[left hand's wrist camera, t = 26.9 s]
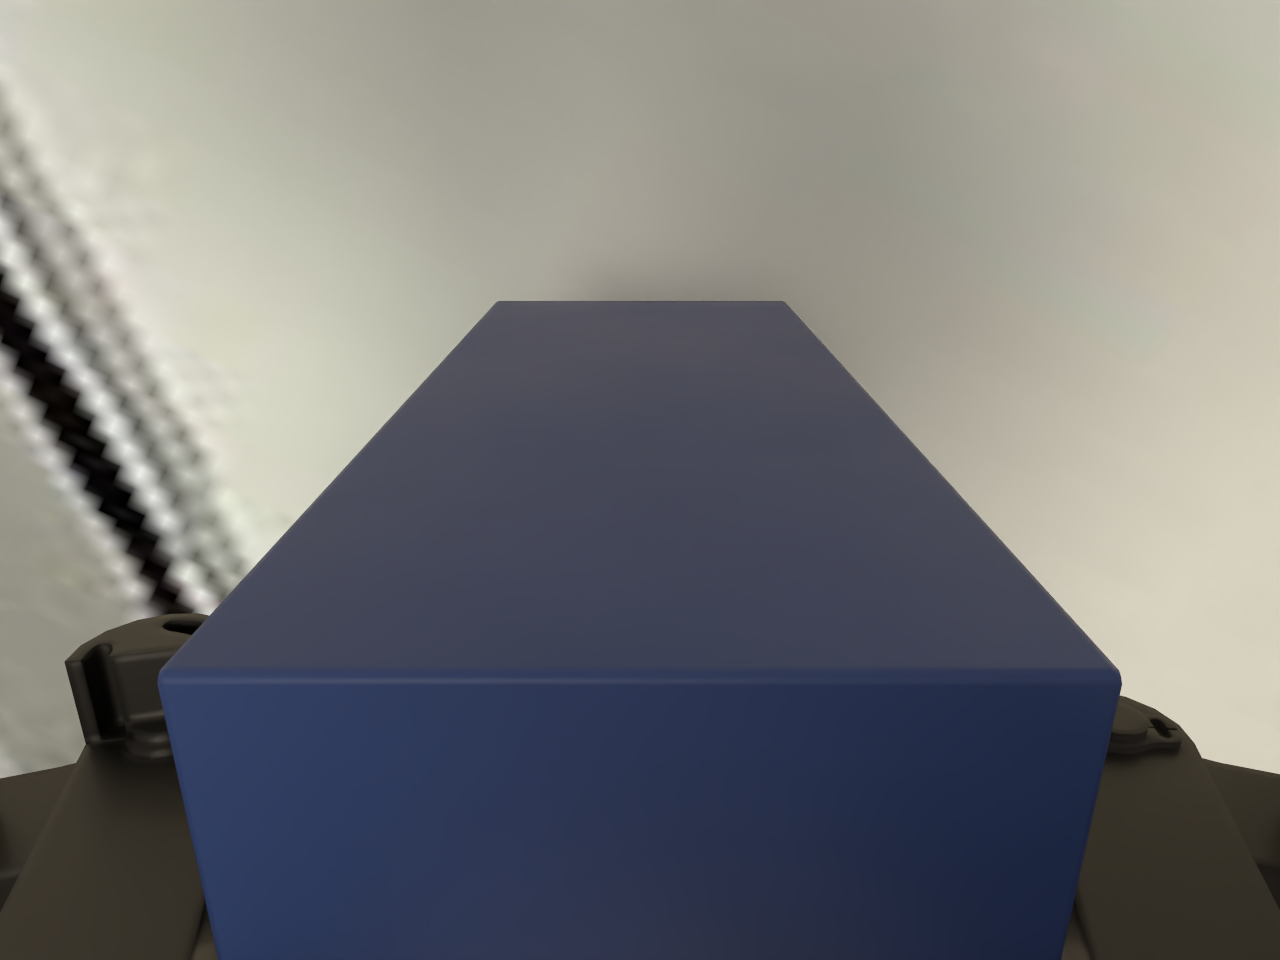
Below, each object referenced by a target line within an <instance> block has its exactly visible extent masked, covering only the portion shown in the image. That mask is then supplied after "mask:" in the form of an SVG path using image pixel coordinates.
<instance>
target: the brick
mask: <svg viewBox="0 0 1280 960" xmlns="http://www.w3.org/2000/svg"><path fill="white" fill-rule="evenodd" d="M157 684H158V689H159V693H160V698H161V702H162V707H163V711H164V716H165V721H166V725H167V730H168V734H169V739H170V743H171V748H172V752H173V757H174V761H175V766H176V770H177V775H178V779H179V784H180V789H181V793H182V798H183V802H184V807H185V811H186V816H187V820H188V825H189V829H190V834H191V838H192V843H193V847H194V852H195V856H196V861H197V866H198V870H199V875H200V879H201V884H202V888H203V893H204V897H205V902H206V906H207V911H208V915H209V920H210V924H211V929H212V934H213V938H214V943H215V947H216V952H217V956H218V960H1061V958H1062V953H1063V949H1064V944H1065V940H1066V935H1067V931H1068V926H1069V922H1070V917H1071V913H1072V908H1073V904H1074V899H1075V895H1076V890H1077V885H1078V881H1079V876H1080V872H1081V867H1082V863H1083V858H1084V854H1085V849H1086V845H1087V840H1088V836H1089V831H1090V827H1091V822H1092V817H1093V813H1094V808H1095V804H1096V799H1097V795H1098V790H1099V786H1100V781H1101V777H1102V772H1103V768H1104V763H1105V759H1106V754H1107V749H1108V745H1109V740H1110V736H1111V731H1112V727H1113V722H1114V718H1115V713H1116V709H1117V704H1118V700H1119V695H1120V691H1121V686H1122V681H1121V676H1120V672H1119V670H1118V669H1117V668H1116V667H1115V666H1114V665H1113V663H1112V662H1111V661H1110V660H1109V659H1108V658H1107V657H1106V656H1105V655H1104V654H1103V652H1102V651H1101V650H1100V649H1099V648H1098V647H1097V646H1096V645H1095V644H1094V643H1093V641H1092V640H1091V639H1090V638H1089V637H1088V636H1087V635H1086V634H1085V633H1084V631H1083V630H1082V629H1081V628H1080V627H1079V626H1078V625H1077V624H1076V623H1075V622H1074V620H1073V619H1072V618H1071V617H1070V616H1069V615H1068V614H1067V613H1066V612H1065V611H1064V609H1063V608H1062V607H1061V606H1060V605H1059V604H1058V603H1057V602H1056V601H1055V600H1054V598H1053V597H1052V596H1051V595H1050V594H1049V593H1048V592H1047V591H1046V590H1045V588H1044V587H1043V586H1042V585H1041V584H1040V583H1039V582H1038V581H1037V580H1036V579H1035V577H1034V576H1033V575H1032V574H1031V573H1030V572H1029V571H1028V570H1027V569H1026V568H1025V566H1024V565H1023V564H1022V563H1021V562H1020V561H1019V560H1018V559H1017V558H1016V557H1015V555H1014V554H1013V553H1012V552H1011V551H1010V550H1009V549H1008V548H1007V547H1006V545H1005V544H1004V543H1003V542H1002V541H1001V540H1000V539H999V538H998V537H997V536H996V534H995V533H994V532H993V531H992V530H991V529H990V528H989V527H988V526H987V525H986V523H985V522H984V521H983V520H982V519H981V518H980V517H979V516H978V515H977V514H976V512H975V511H974V510H973V509H972V508H971V507H970V506H969V505H968V504H967V502H966V501H965V500H964V499H963V498H962V497H961V496H960V495H959V494H958V493H957V491H956V490H955V489H954V488H953V487H952V486H951V485H950V484H949V483H948V482H947V480H946V479H945V478H944V477H943V476H942V475H941V474H940V473H939V472H938V470H937V469H936V468H935V467H934V466H933V465H932V464H931V463H930V462H929V461H928V459H927V458H926V457H925V456H924V455H923V454H922V453H921V452H920V451H919V450H918V448H917V447H916V446H915V445H914V444H913V443H912V442H911V441H910V440H909V439H908V437H907V436H906V435H905V434H904V433H903V432H902V431H901V430H900V429H899V427H898V426H897V425H896V424H895V423H894V422H893V421H892V420H891V419H890V418H889V416H888V415H887V414H886V413H885V412H884V411H883V410H882V409H881V408H880V407H879V405H878V404H877V403H876V402H875V401H874V400H873V399H872V398H871V397H870V396H869V394H868V393H867V392H866V391H865V390H864V389H863V388H862V387H861V386H860V384H859V383H858V382H857V381H856V380H855V379H854V378H853V377H852V376H851V375H850V373H849V372H848V371H847V370H846V369H845V368H844V367H843V366H842V365H841V364H840V362H839V361H838V360H837V359H836V358H835V357H834V356H833V355H832V354H831V353H830V351H829V350H828V349H827V348H826V347H825V346H824V345H823V344H822V343H821V341H820V340H819V339H818V338H817V337H816V336H815V335H814V334H813V333H812V332H811V330H810V329H809V328H808V327H807V326H806V325H805V324H804V323H803V322H802V321H801V319H800V318H799V317H798V316H797V315H796V314H795V313H794V312H793V311H792V310H791V308H790V307H789V306H788V305H787V304H786V303H785V302H783V301H498V302H496V303H495V304H494V306H493V307H492V308H491V309H490V310H489V311H488V312H487V313H486V314H485V315H484V316H483V318H482V319H481V320H480V321H479V322H478V323H477V324H476V325H475V326H474V327H473V328H472V330H471V331H470V332H469V333H468V334H467V335H466V336H465V337H464V338H463V339H462V341H461V342H460V343H459V344H458V345H457V346H456V347H455V348H454V349H453V350H452V351H451V353H450V354H449V355H448V356H447V357H446V358H445V359H444V360H443V361H442V362H441V363H440V365H439V366H438V367H437V368H436V369H435V370H434V371H433V372H432V373H431V374H430V375H429V377H428V378H427V379H426V380H425V381H424V382H423V383H422V384H421V385H420V386H419V388H418V389H417V390H416V391H415V392H414V393H413V394H412V395H411V396H410V397H409V398H408V400H407V401H406V402H405V403H404V404H403V405H402V406H401V407H400V408H399V409H398V410H397V412H396V413H395V414H394V415H393V416H392V417H391V418H390V419H389V420H388V421H387V422H386V424H385V425H384V426H383V427H382V428H381V429H380V430H379V431H378V432H377V433H376V435H375V436H374V437H373V438H372V439H371V440H370V441H369V442H368V443H367V444H366V445H365V447H364V448H363V449H362V450H361V451H360V452H359V453H358V454H357V455H356V456H355V457H354V459H353V460H352V461H351V462H350V463H349V464H348V465H347V466H346V467H345V468H344V469H343V471H342V472H341V473H340V474H339V475H338V476H337V477H336V478H335V479H334V480H333V482H332V483H331V484H330V485H329V486H328V487H327V488H326V489H325V490H324V491H323V492H322V494H321V495H320V496H319V497H318V498H317V499H316V500H315V501H314V502H313V503H312V504H311V506H310V507H309V508H308V509H307V510H306V511H305V512H304V513H303V514H302V515H301V516H300V518H299V519H298V520H297V521H296V522H295V523H294V524H293V525H292V526H291V527H290V529H289V530H288V531H287V532H286V533H285V534H284V535H283V536H282V537H281V538H280V539H279V541H278V542H277V543H276V544H275V545H274V546H273V547H272V548H271V549H270V550H269V551H268V553H267V554H266V555H265V556H264V557H263V558H262V559H261V560H260V561H259V562H258V563H257V565H256V566H255V567H254V568H253V569H252V570H251V571H250V572H249V573H248V574H247V576H246V577H245V578H244V579H243V580H242V581H241V582H240V583H239V584H238V585H237V586H236V588H235V589H234V590H233V591H232V592H231V593H230V594H229V595H228V596H227V597H226V598H225V600H224V601H223V602H222V603H221V604H220V605H219V606H218V607H217V608H216V609H215V610H214V612H213V613H212V614H211V615H210V616H209V617H208V618H207V619H206V620H205V621H204V622H203V624H202V625H201V626H200V627H199V628H198V629H197V630H196V631H195V632H194V633H193V635H192V636H191V637H190V638H189V639H188V640H187V641H186V642H185V643H184V644H183V645H182V647H181V648H180V649H179V650H178V651H177V652H176V653H175V654H174V655H173V656H172V657H171V659H170V660H169V661H168V662H167V663H166V664H165V665H164V666H163V667H162V668H161V669H160V672H159V675H158V682H157Z"/></svg>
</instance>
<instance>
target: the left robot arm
mask: <svg viewBox="0 0 1280 960" xmlns="http://www.w3.org/2000/svg"><path fill="white" fill-rule="evenodd" d="M208 617H209V616H208V615H203V614H198V613H196V614H168V615H162V616H157V617H152V618H147V619H141V620H137V621H134V622H131V623H128V624H125V625H122V626H120V627H117V628H114V629H111V630H108V631H106V632H104V633H102V634H100V635H99V636H97V637H95V638H93V639H92V640H90V641H88V642H86V643H84V644H83V645H81V646H80V647H79V648H78V649H77V650H76V651H75V652H74V653H73V654H72V655H71V656H70V657H69V658H68V659H67V660H66V661H65V665H66V669H67V673H68V677H69V681H70V685H71V688H72V692H73V696H74V700H75V704H76V708H77V711H78V715H79V719H80V723H81V727H82V731H83V734H84V738H85V742H86V745H85V747H84V749H83V751H82V753H81V755H80V757H79V759H78V761H77V763H74V764H70V765H66V766H62V767H58V768H53V769H47V770H42V771H37V772H32V773H27V774H22V775H17V776H11V777H6V778H1V779H0V960H218V956H217V952H216V947H215V943H214V938H213V934H212V929H211V924H210V920H209V915H208V911H207V906H206V902H205V897H204V893H203V888H202V884H201V879H200V875H199V870H198V866H197V861H196V856H195V852H194V847H193V843H192V838H191V834H190V829H189V825H188V820H187V816H186V811H185V807H184V802H183V798H182V793H181V789H180V784H179V779H178V775H177V770H176V766H175V761H174V757H173V752H172V748H171V743H170V739H169V734H168V730H167V725H166V721H165V716H164V711H163V707H162V702H161V698H160V693H159V689H158V684H157V682H158V675H159V672H160V669H161V668H162V667H163V666H164V665H165V664H166V663H167V662H168V661H169V660H170V659H171V657H172V656H173V655H174V654H175V653H176V652H177V651H178V650H179V649H180V648H181V647H182V645H183V644H184V643H185V642H186V641H187V640H188V639H189V638H190V637H191V636H192V635H193V633H194V632H195V631H196V630H197V629H198V628H199V627H200V626H201V625H202V624H203V622H204V621H205V620H206V619H207V618H208ZM1061 960H1280V774H1275V773H1270V772H1265V771H1260V770H1254V769H1249V768H1244V767H1239V766H1234V765H1229V764H1223V763H1219V762H1215V761H1211V760H1207V759H1203V758H1202V757H1201V755H1200V754H1199V752H1198V750H1197V748H1196V746H1195V744H1194V742H1193V741H1192V740H1191V739H1190V738H1189V736H1188V735H1187V734H1186V733H1185V732H1184V730H1183V729H1182V728H1181V727H1180V726H1179V725H1178V724H1177V723H1175V722H1174V721H1172V720H1171V719H1169V718H1168V717H1166V716H1165V715H1163V714H1162V713H1160V712H1159V711H1157V710H1156V709H1154V708H1151V707H1149V706H1146V705H1144V704H1141V703H1139V702H1137V701H1134V700H1132V699H1129V698H1127V697H1124V696H1119V700H1118V704H1117V709H1116V713H1115V718H1114V722H1113V727H1112V731H1111V736H1110V740H1109V745H1108V749H1107V754H1106V759H1105V763H1104V768H1103V772H1102V777H1101V781H1100V786H1099V790H1098V795H1097V799H1096V804H1095V808H1094V813H1093V817H1092V822H1091V827H1090V831H1089V836H1088V840H1087V845H1086V849H1085V854H1084V858H1083V863H1082V867H1081V872H1080V876H1079V881H1078V885H1077V890H1076V895H1075V899H1074V904H1073V908H1072V913H1071V917H1070V922H1069V926H1068V931H1067V935H1066V940H1065V944H1064V949H1063V953H1062V958H1061Z"/></svg>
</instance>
